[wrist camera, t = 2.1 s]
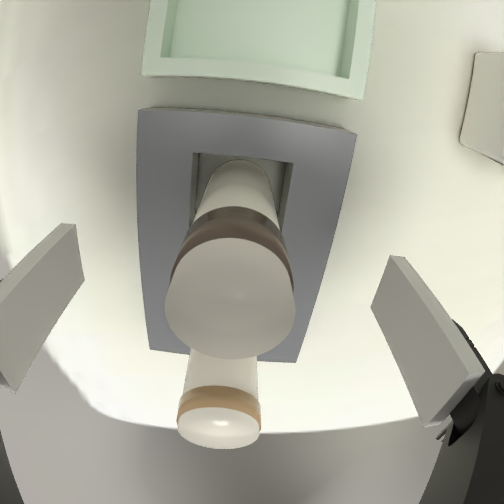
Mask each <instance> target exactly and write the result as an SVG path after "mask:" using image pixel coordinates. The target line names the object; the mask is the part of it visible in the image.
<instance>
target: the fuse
mask: <svg viewBox="0 0 504 504" xmlns="http://www.w3.org/2000/svg"><path fill="white" fill-rule="evenodd" d="M177 425H178V431H179V433H180V434H181V436H183V437H184V438H185V439H186V440H188V441H190V442H192V443H194V444H197V445H200V446H204V447H209V448H217V449H232V448H239V447H243V446H246V445H249V444H251V443H253V442H254V441H256V440H257V438H258V437H259V432H260V430H261V411H260V404H259V402H258V376H257V356H254V357H250V358H244V359H221V358H215V357H211V356H208V355H205V354H202V353H200V352H197V351H195V350H194V349H192V348H191V350H190V355H189V361H188V367H187V372H186V378H185V384H184V390H183V395H182V397H181V398H180V402H179V408H178V415H177Z"/></svg>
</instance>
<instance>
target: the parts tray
mask: <svg viewBox="0 0 504 504" xmlns="http://www.w3.org/2000/svg"><path fill="white" fill-rule="evenodd" d="M375 10H376V0H151V3H150V8H149V14H148V21H147V28H146V35H145V42H144V50H143V59H142V68H141V76H151V77H198V78H216V79H229V80H240V81H250V82H258V83H266V84H274V85H281V86H287V87H293V88H299V89H305V90H310V91H316V92H321V93H326V94H330V95H335V96H340V97H344V98H348V99H355V100H363V99H364V93H365V87H366V80H367V74H368V67H369V60H370V53H371V45H372V37H373V29H374V20H375Z"/></svg>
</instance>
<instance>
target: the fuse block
mask: <svg viewBox="0 0 504 504" xmlns="http://www.w3.org/2000/svg"><path fill="white" fill-rule="evenodd" d="M356 137H357V134H355V133H353V132H350V131H348V130H346V129H343V128H338V127H334V126H329V125H323V124H318V123H312V122H307V121H301V120H295V119H288V118H282V117H274V116H267V115H259V114H250V113H241V112H231V111H219V110H206V109H188V108H154V107H151V108H147V109H142V110H138V125H137V163H136V183H137V222H138V242H139V257H140V270H141V281H142V291H143V301H144V310H145V318H146V326H147V333H148V340H149V347H150V349H151V350H158V351H165V352H172V353H179V354H187V355H190V350H191V348H190V347H189V346H187V345H186V344H184V343H183V342H182V341H181V340H180V339H179V338H178V337H177V336H176V335H175V334H174V332H173V331H172V330H171V328H170V326H169V324H168V322H167V319H166V316H165V299H166V295H167V292H168V289H169V286H170V276H171V272H172V269H173V266H174V263H175V261H176V258H177V256H178V253H179V250H180V248H181V245H182V242H183V240H184V237H185V235H186V233H187V231H188V229H189V228H190V226H191V225H192V223H193V221H194V218H195V209H196V191H197V175H198V160H199V153H208V154H220V155H230V156H240V157H249V158H258V159H266V160H274V161H282V162H287V165H286V171H285V177H284V183H283V190H282V196H281V202H280V208H279V214H278V223H279V228H280V232H281V233H282V235H283V238H284V241H285V244H286V249H287V253H288V258H289V262H290V267H291V272H292V276H293V282H294V291H293V297H294V303H295V309H296V312H295V320H294V324H293V326H292V329H291V330H290V332H289V334H288V335H287V336H286V338H285V339H284V340H283V341H282V342H281V343H280V344H278V345H277V346H276V347H275V348H273V349H271V350H269V351H268V352H265V353H263V354H261V355H258V356H257V361H267V362H288V363H296V361H297V358H298V355H299V352H300V349H301V346H302V343H303V340H304V337H305V334H306V331H307V328H308V324H309V321H310V318H311V315H312V312H313V308H314V305H315V302H316V298H317V295H318V292H319V288H320V285H321V281H322V278H323V274H324V271H325V267H326V264H327V260H328V257H329V253H330V249H331V245H332V242H333V238H334V234H335V230H336V226H337V222H338V218H339V214H340V210H341V206H342V202H343V197H344V193H345V189H346V185H347V180H348V176H349V171H350V166H351V162H352V157H353V152H354V147H355V142H356Z"/></svg>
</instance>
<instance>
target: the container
mask: <svg viewBox="0 0 504 504" xmlns="http://www.w3.org/2000/svg"><path fill="white" fill-rule="evenodd" d="M460 143H461V144H462V145H463V146H465V147H467V148H470V149H472V150H474V151H476V152H478V153H480V154H482V155H484V156H486V157H488V158H490V159H492V160H494V161H496V162H498V163H499V164H501V165H503V166H504V53H498V52H478V53H476V55H475V62H474V69H473V76H472V82H471V88H470V93H469V99H468V104H467V109H466V113H465V118H464V122H463V127H462V131H461V135H460Z"/></svg>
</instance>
